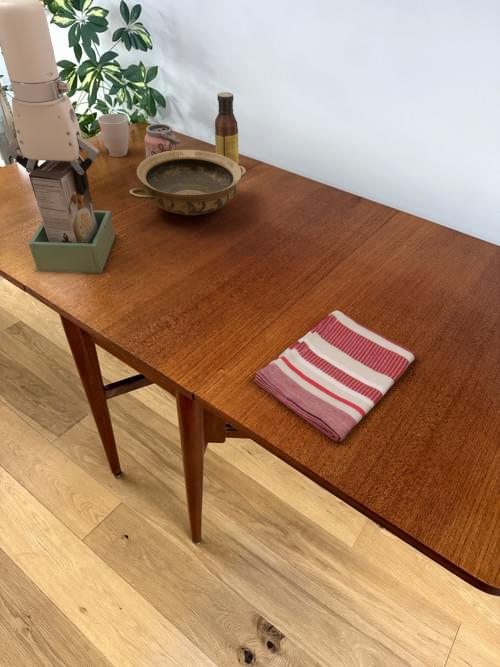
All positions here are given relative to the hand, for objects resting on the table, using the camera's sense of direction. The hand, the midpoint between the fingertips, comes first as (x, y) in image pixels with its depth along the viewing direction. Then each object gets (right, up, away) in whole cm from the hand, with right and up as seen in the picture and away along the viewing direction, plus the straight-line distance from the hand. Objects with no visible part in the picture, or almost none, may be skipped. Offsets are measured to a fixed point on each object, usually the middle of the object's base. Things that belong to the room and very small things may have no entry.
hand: (62, 190), depth 88 cm
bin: (-1, -10, +10) cm, 14 cm away
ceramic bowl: (+21, +3, +26) cm, 34 cm away
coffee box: (-1, -8, +8) cm, 11 cm away
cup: (-3, +25, +48) cm, 54 cm away
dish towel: (+50, -34, -12) cm, 61 cm away
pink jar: (+12, +17, +40) cm, 45 cm away
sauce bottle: (+29, +19, +43) cm, 55 cm away
